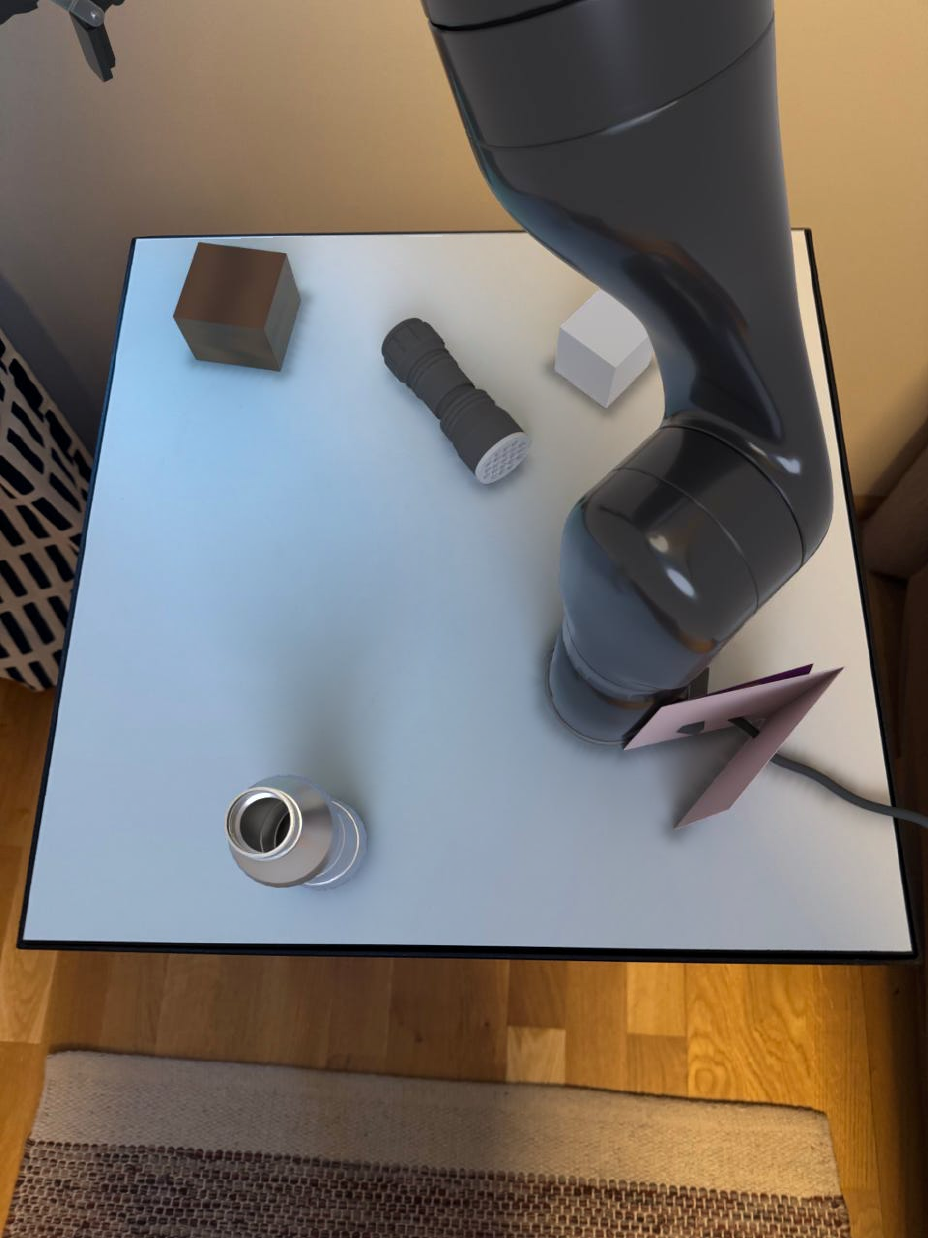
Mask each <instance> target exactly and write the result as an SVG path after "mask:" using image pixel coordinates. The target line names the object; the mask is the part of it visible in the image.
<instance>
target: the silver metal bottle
mask: <svg viewBox="0 0 928 1238" xmlns="http://www.w3.org/2000/svg"><path fill="white" fill-rule="evenodd" d="M223 828H224V833H225V836H226V839H227V843H228V849H229V852H230V854H231V857H232V860H233V861H234V862H235V864H236V866H237V867H238V868H239V869H240V870H241V872H242V873H243V874H244V875H245V876H247V877H248V878H250V879H251V880H253V881H254V882H256V883H258V884H260V885H263V886H266V887H269V888H270V887H271V888H277V889H280V888H281V889H283V888H284V889H285V888H286V889H287V888H292V887H297V886H299V887H302V888H304V889H306V890H312V891H328V890H333V889H336V888H339V887H340V886H343V885H345V884H346V883H347V882H349V881H350V880H351V879H352V878H353V877H355V875H356V874H357V873H358V872H359V870H360V868H361V867H362V865H363V863H364V860H365V858H366V855H367V849H368V836H367V831H366V827H365V825H364V822H363V820H362V818H361V817H360V816H359V814H358V813H357V811H356V810H355V809H353V808H352V806H350V805H349V804H347V803H346V802H344V801H342V800H340V799H338V798H335V797H330V796H329V795H328V793H327V792H325V790H323V789H322V787H321V786H319V785H318V784H316V783H315V782H313V781H311V780H310V779H307V778H304V777H302V776H299V775H292V774H277V775H273V776H268V777H266V778H263V779H261V780H259V781H257V782H255V783H254V784H253V785H251V786H249V787H248V788H247V789H246V790H243V791H242V792H240V793H239V794H237V795H236V796H235V797H234V798H233V799H232V800H231V801H230V802H229V805H228V806H227V808H226V811H225V814H224V818H223Z"/></svg>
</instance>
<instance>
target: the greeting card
mask: <svg viewBox="0 0 928 1238" xmlns="http://www.w3.org/2000/svg"><path fill="white" fill-rule="evenodd" d="M813 666H814V662H812V663H809V664H806V665H801V666H799V667H795V668H793V669H788V670H785V671H781V672H778V673H775V674H771V675H768V676H764V677H761V678H757V679H754V680H751V681H746V682H744V683H740V684H737V685H733V686H730V687H726V688H723V689H719V690H716V691H713V692H709V693H707V694H705V695H702V696H698V697H695V698H692V699H688V700H685V701H681V702H678V703H674V704H673V705H668V706H664V707H661V708H660V709H659V710H658V711H657V713H656V714H655V715H654V716H653V717H652V718H651V719H650V720H649V722H648V723H647V724H646V725H645V726H644V727H643V728H642V729H641V730H640V732H639V733H638V734H637V735H636V736H635V737H634V738H633V739H632V740H631V741H630V742H628V743H627V745H626V746H625V747H624V748H623V749H622V751H627V750H632V749H637V748H640V747H641V748H642V747H646V746H649V745H654V744H658V743H663V742H667V741H671V740H676V739H681V738H685V737H689V736H691V735H689V734H683V733H677V732H676V731H677V730H678V729H680V728H681V727H682V726H684V725H688V724H693V723H697V722H702V721H705V725H704V729H703V730H702V731H701V732H700V733H698V734H702V733H708V732H711V731H716V730H720V729H725V728H729V727H730V728H731V727H733V726H736V725H735V724H733V723H731V722H729V721H727V720H728V719H732V718H736V717H742V718H744V719H745V720H747V721H748V722H750V723H752V722H756V721H761V720H763V721H762V722H761V724H760V725H759V726H758V727H757V729H758V730H759V731H760V733H759V734H758V735H757V737H756V738H754V739H753V738H752V737H751V736H750V737H749V738H748V739H747V741H746V742H745V743H744V744H743V745H742V747H740V748H739V750H738V752H737V753H736V754H735V755H734V756H733V758H732V759H731V760H730V761H729V762H728V764H727V765H726V766H725V767H724V769H723V770H722V771H721V772H720V773H719V774H718V775H717V777H716V778H715V779H714V781H713V782H712V783H711V784H710V785H709V786H708V788H707V789H706V790H705V792H704V793H702V795H700V798H699V799H698V800H697V801H696V802H695V804H693V806H692V807H691V809H689V811H688V812H687V813H686V814H685V815H684V817H683V818H682V819H681V820H680V822H679V823H678V824H677V825H676V826H675V828H674V829H673V830H674V831H676V830H679V829H681V828H685V827H687V826H690V825H692V824H695V823H697V822H700V821H703V820H705V819H709V818H710V817H713V816H716V815H719V814H721V813H723V812H726V811H729V810H731V808H732V807H733V806H734V805H735V804H736V802H737V801H738V800H739V798H741V796H742V795H743V794H744V793H745V791H746V790H747V789H748V788H749V786H750V785H751V784H752V782H753V781H754V780H755V779H756V778H757V777H758V775H759V774H760V773H761V772H762V770H763V769H764V768H765V766H767V764H768V763H769V762H770V759H771V758H772V757H773V755H774V754H775V753H777V752H778V751H779V750H780V748H781V747H782V746H783V745H784V743H785V742H786V741H787V739H789V737H790V736H791V735H792V733H793V732H794V731H795V730H796V729H797V727H798V726H799V725H800V724H801V722H802V721H803V720H804V719H805V717H806V716H807V715H808V714H809V712H810V711H811V710H812V709H813V707H814V706H815V705H816V704H817V702H818V701H819V700H820V699H821V698H822V697H823V696H824V694H825V693H826V691H827V690H828V689H829V688H830V687H831V686H832V684H833V683H834V682H835V680H836V679H837V678H838V677H839V676H840V675H841V673H842V672H843V670H844V669H845V668H846V665H844V666H839V667H834V668H830V669H826V670H820V671H817V672H812V670H813ZM811 672H812V673H811ZM698 734H697V735H698Z"/></svg>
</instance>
